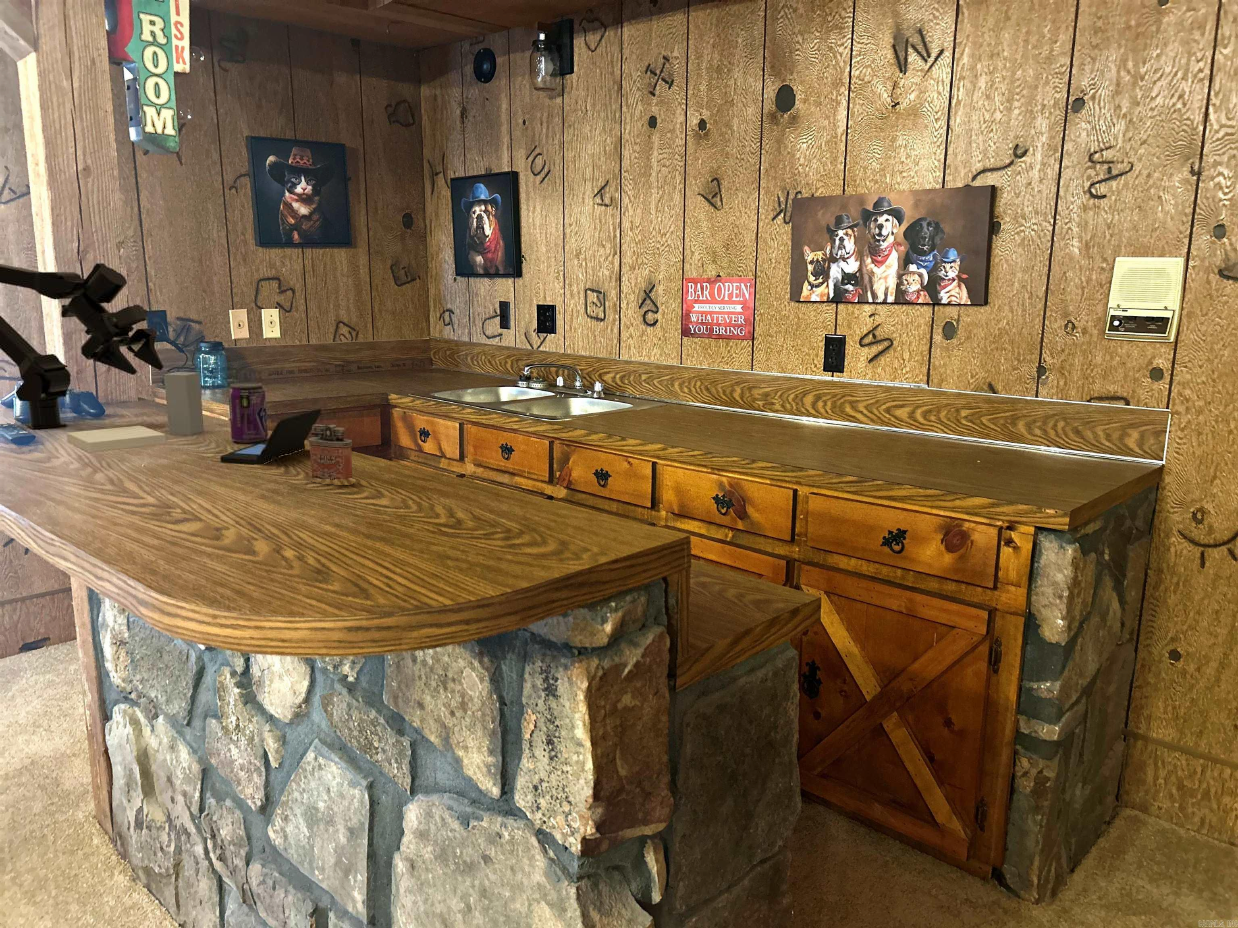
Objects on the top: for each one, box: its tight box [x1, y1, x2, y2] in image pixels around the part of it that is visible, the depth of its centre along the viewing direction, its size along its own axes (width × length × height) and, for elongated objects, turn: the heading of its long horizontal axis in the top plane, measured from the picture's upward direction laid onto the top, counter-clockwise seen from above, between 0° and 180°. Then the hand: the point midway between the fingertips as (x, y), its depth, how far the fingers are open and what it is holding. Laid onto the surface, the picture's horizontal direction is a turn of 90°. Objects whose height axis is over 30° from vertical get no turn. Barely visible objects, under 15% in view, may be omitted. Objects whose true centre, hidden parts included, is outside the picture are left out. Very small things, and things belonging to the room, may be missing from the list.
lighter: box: [308, 424, 353, 480], centre depth 152 cm, size 8×3×10 cm, turn 71°
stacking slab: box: [66, 425, 167, 454], centre depth 182 cm, size 14×14×2 cm
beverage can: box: [228, 382, 269, 444], centre depth 186 cm, size 7×7×12 cm
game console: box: [219, 408, 322, 465], centre depth 172 cm, size 16×14×9 cm
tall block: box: [163, 371, 205, 436], centre depth 194 cm, size 5×5×13 cm
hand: (149, 371), depth 193 cm, fingers open, 9 cm apart
